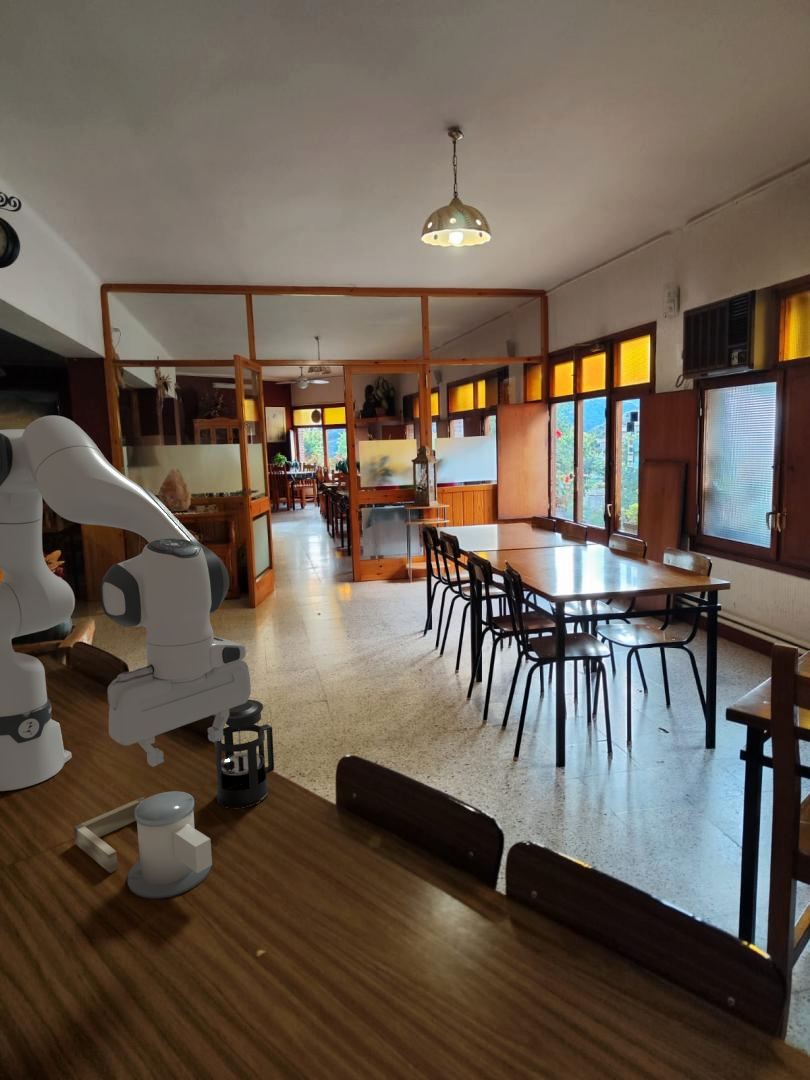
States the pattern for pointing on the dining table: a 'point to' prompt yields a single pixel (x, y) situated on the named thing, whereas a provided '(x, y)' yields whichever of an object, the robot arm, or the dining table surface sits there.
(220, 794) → the french press
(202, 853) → the white handled cylinder
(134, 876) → the mat
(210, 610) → the robot arm
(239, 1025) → the dining table surface
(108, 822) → the stand
